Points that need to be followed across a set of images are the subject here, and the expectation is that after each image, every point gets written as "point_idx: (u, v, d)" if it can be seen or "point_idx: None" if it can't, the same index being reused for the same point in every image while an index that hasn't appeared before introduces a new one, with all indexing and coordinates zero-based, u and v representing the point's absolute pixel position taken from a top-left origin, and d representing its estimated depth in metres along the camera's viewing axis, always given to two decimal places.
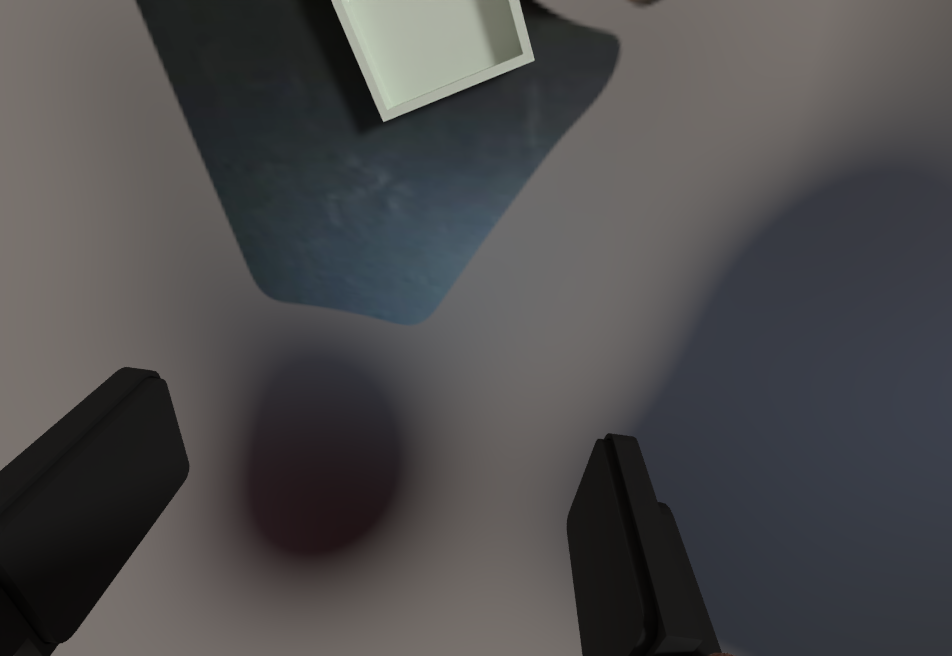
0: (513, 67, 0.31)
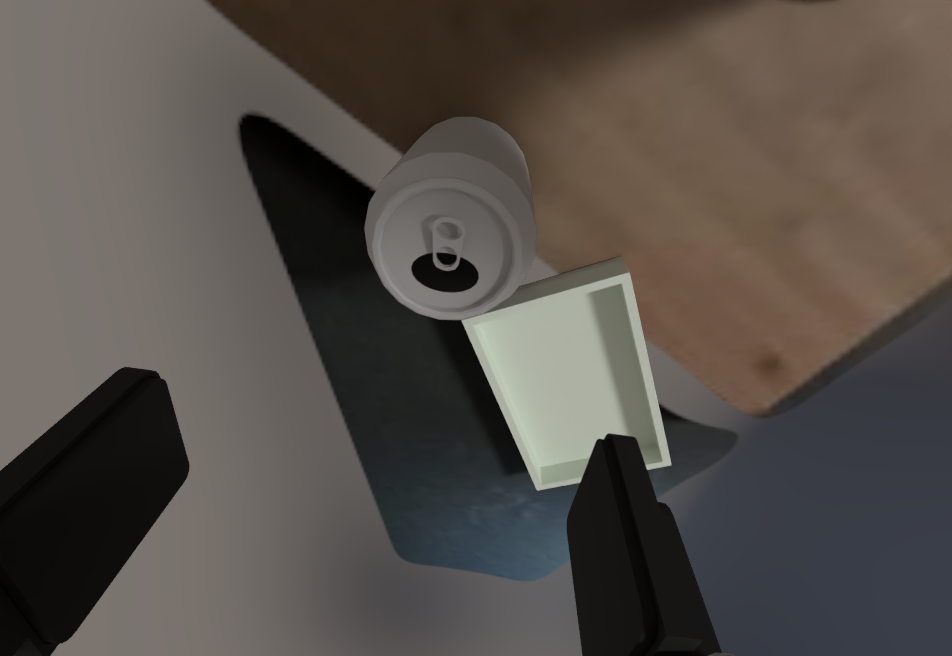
0: (653, 467, 0.38)
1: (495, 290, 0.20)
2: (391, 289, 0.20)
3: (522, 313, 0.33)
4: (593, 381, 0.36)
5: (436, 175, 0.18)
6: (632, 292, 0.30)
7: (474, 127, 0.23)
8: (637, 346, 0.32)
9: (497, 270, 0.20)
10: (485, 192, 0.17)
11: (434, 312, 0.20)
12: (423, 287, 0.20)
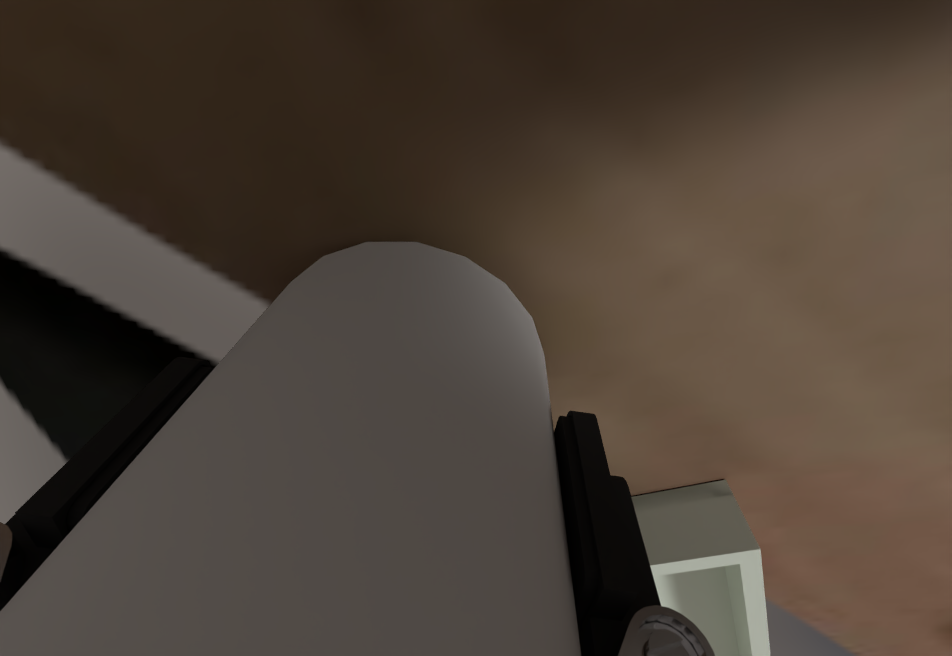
0: None
1: None
2: None
3: None
4: None
5: None
6: (759, 577, 0.14)
7: (395, 314, 0.08)
8: (753, 645, 0.16)
9: None
10: None
11: None
12: None
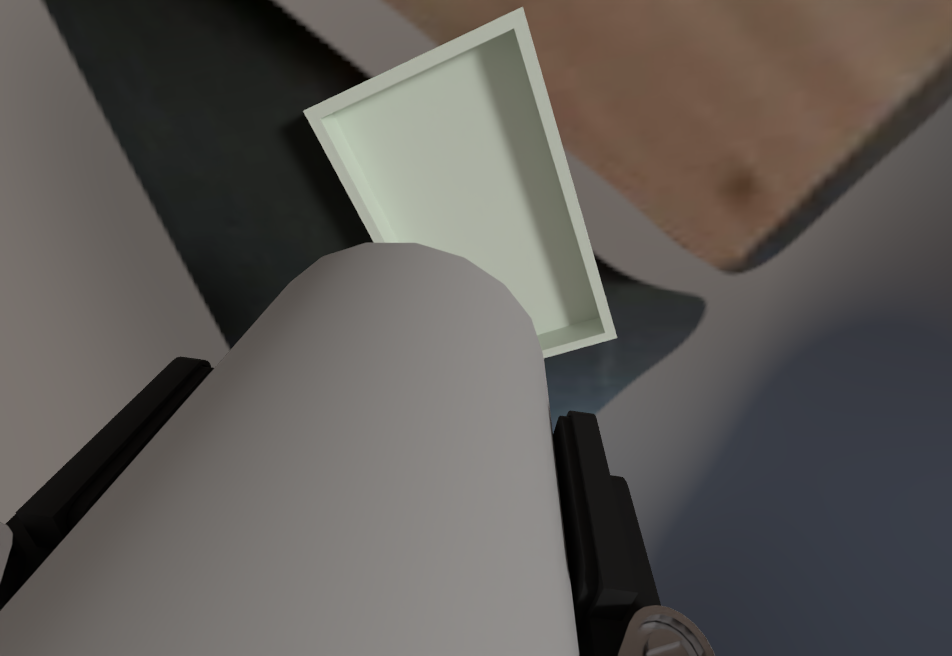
0: (593, 343, 0.29)
1: None
2: None
3: (396, 112, 0.24)
4: (507, 221, 0.27)
5: None
6: (531, 44, 0.21)
7: (394, 315, 0.08)
8: (549, 142, 0.23)
9: None
10: None
11: None
12: None
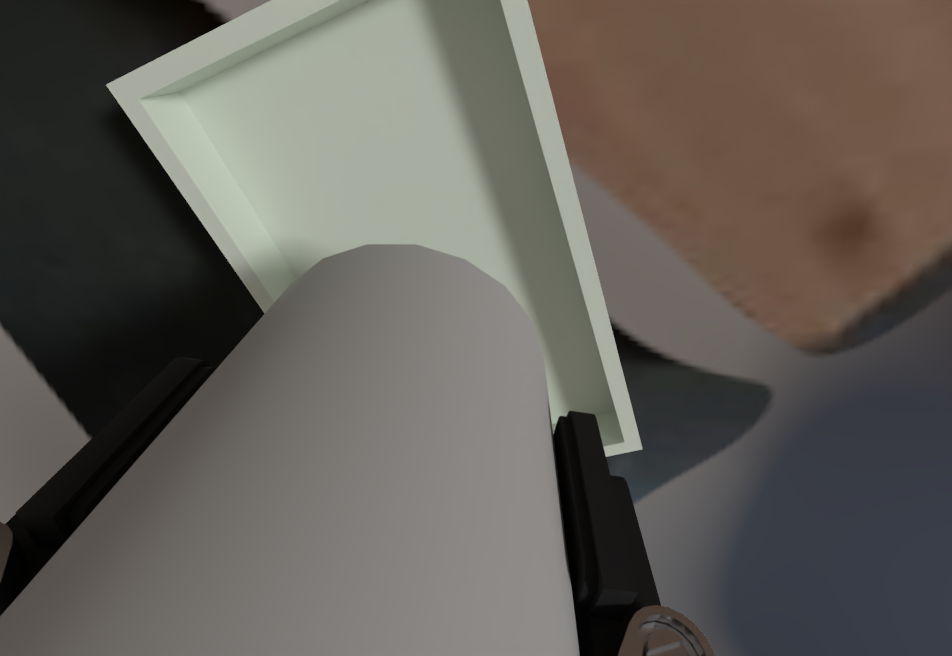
0: (606, 455, 0.19)
1: None
2: None
3: (288, 94, 0.14)
4: None
5: None
6: None
7: (395, 318, 0.08)
8: (546, 152, 0.13)
9: None
10: None
11: None
12: None
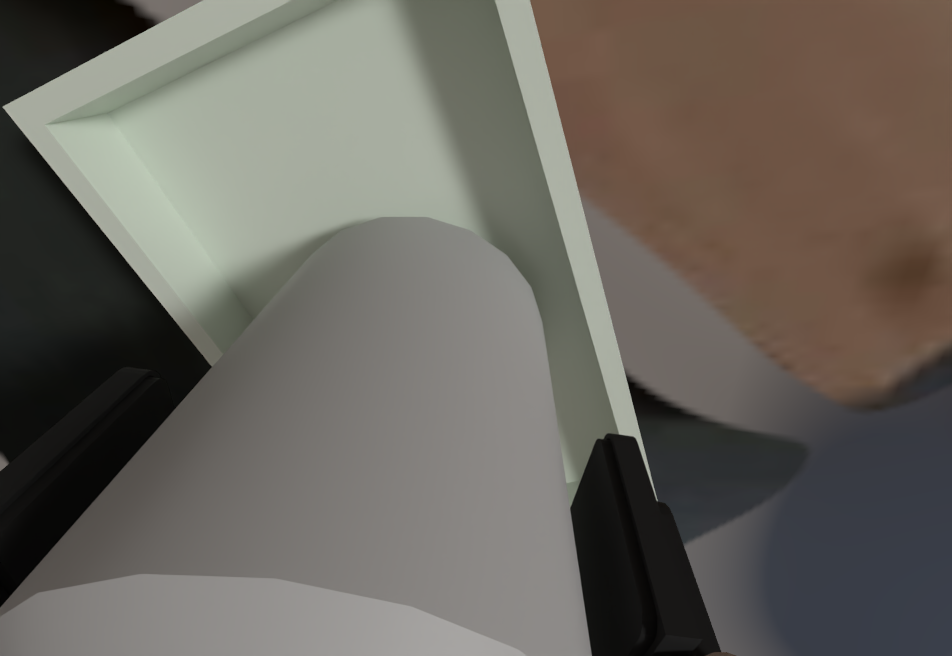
0: None
1: None
2: None
3: (238, 116, 0.12)
4: None
5: None
6: None
7: (412, 273, 0.09)
8: (553, 189, 0.10)
9: None
10: None
11: None
12: None
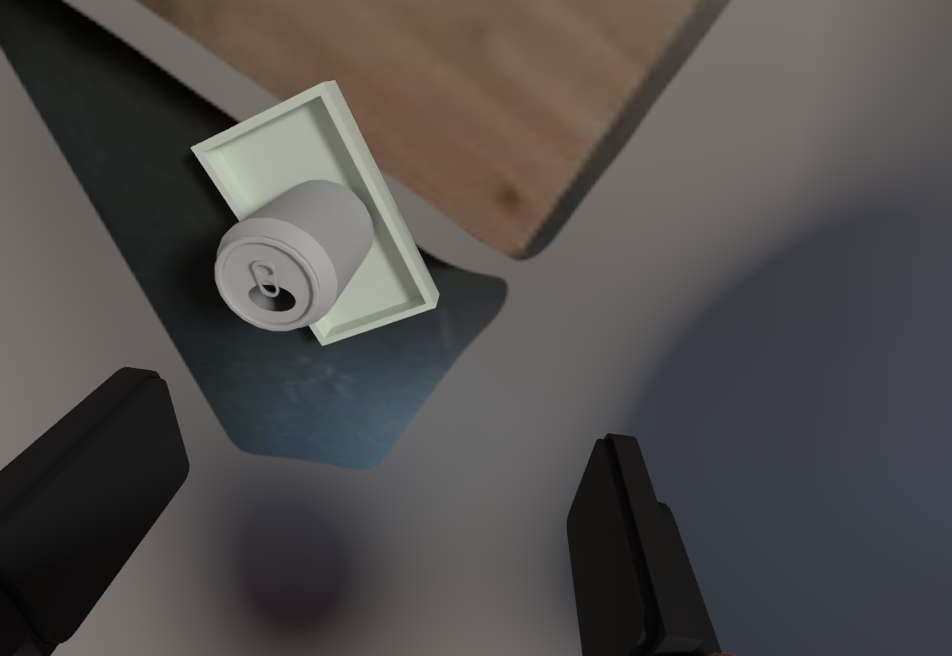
0: (419, 311, 0.39)
1: (309, 309, 0.29)
2: (235, 311, 0.29)
3: (260, 147, 0.35)
4: None
5: (252, 234, 0.27)
6: (333, 105, 0.31)
7: (310, 191, 0.32)
8: (358, 167, 0.33)
9: (307, 295, 0.28)
10: (282, 244, 0.26)
11: (269, 326, 0.29)
12: (259, 308, 0.29)
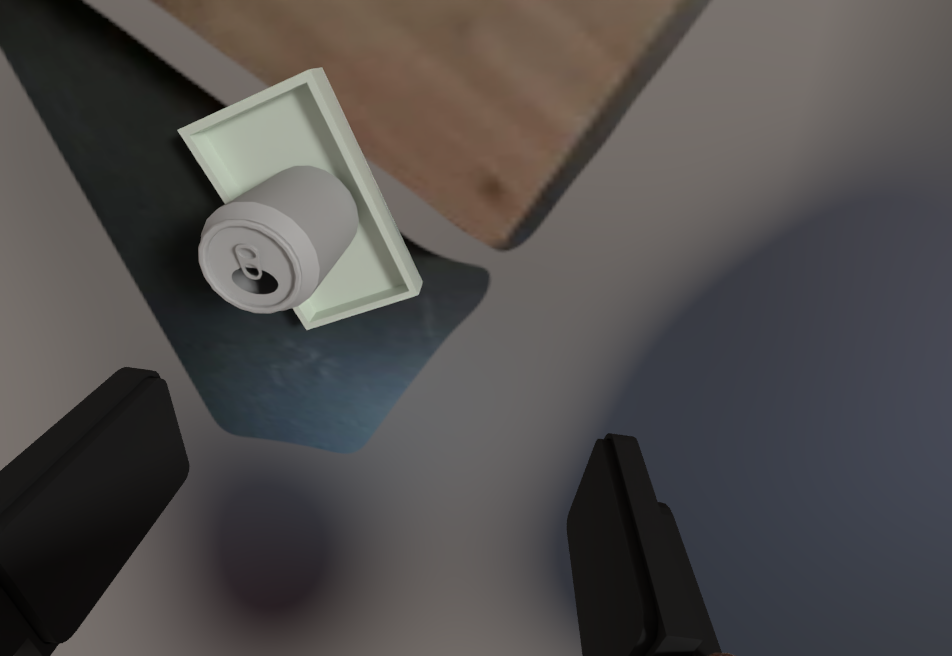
0: (402, 298, 0.40)
1: (291, 292, 0.29)
2: (218, 292, 0.29)
3: (247, 132, 0.35)
4: None
5: (236, 217, 0.27)
6: (319, 92, 0.32)
7: (296, 176, 0.33)
8: (343, 155, 0.34)
9: (289, 279, 0.29)
10: (264, 228, 0.27)
11: (251, 308, 0.30)
12: (243, 291, 0.30)
